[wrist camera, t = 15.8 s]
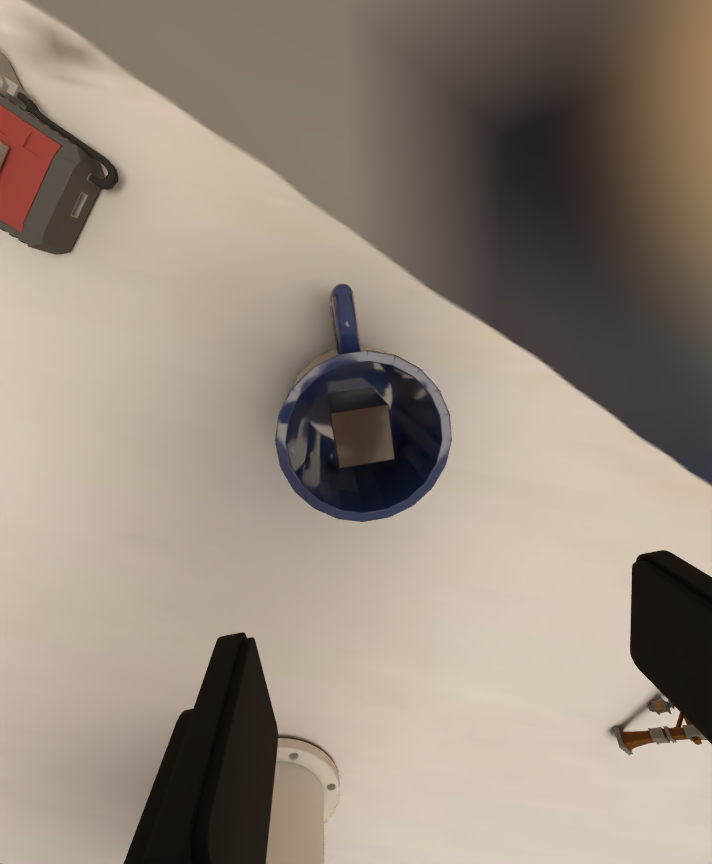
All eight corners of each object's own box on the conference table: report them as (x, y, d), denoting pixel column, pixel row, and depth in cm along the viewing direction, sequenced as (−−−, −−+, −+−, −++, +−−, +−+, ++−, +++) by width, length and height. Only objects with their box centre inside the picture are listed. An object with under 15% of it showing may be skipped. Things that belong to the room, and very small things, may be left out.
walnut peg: (334, 438, 30) (339, 469, 23) (327, 394, 29) (329, 413, 22) (378, 431, 30) (395, 459, 23) (372, 387, 29) (388, 403, 22)
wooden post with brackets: (693, 692, 39) (719, 746, 35) (614, 708, 43) (630, 758, 39) (684, 683, 39) (709, 736, 35) (604, 700, 43) (620, 750, 39)
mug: (421, 460, 31) (457, 506, 23) (301, 480, 31) (293, 534, 23) (403, 285, 28) (437, 266, 20) (267, 305, 27) (244, 293, 19)
